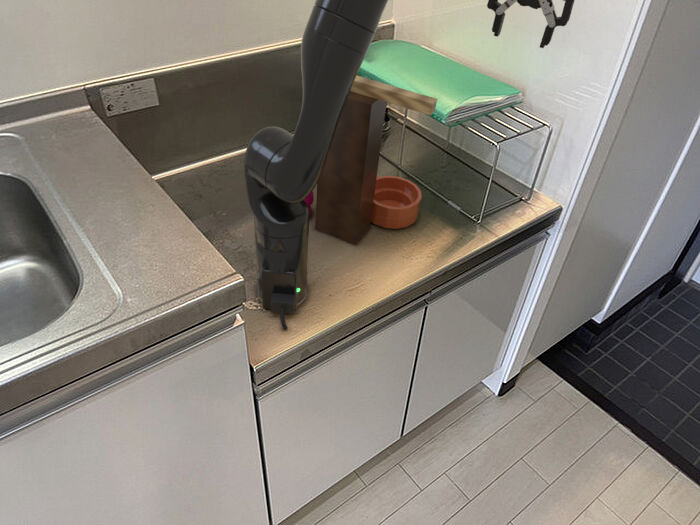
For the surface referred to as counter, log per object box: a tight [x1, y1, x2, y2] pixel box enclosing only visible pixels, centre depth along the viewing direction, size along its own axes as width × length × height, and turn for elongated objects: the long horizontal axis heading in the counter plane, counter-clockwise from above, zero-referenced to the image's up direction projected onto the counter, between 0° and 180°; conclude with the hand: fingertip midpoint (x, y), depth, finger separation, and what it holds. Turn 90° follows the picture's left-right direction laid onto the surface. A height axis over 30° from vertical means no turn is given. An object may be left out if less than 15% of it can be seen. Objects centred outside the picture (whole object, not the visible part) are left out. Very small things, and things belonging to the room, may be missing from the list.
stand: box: [314, 91, 387, 246], centre depth 108 cm, size 10×7×32 cm
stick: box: [350, 74, 438, 116], centre depth 96 cm, size 24×2×2 cm, turn 63°
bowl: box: [371, 175, 423, 230], centre depth 122 cm, size 13×13×6 cm
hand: (519, 40), depth 100 cm, fingers open, 8 cm apart
